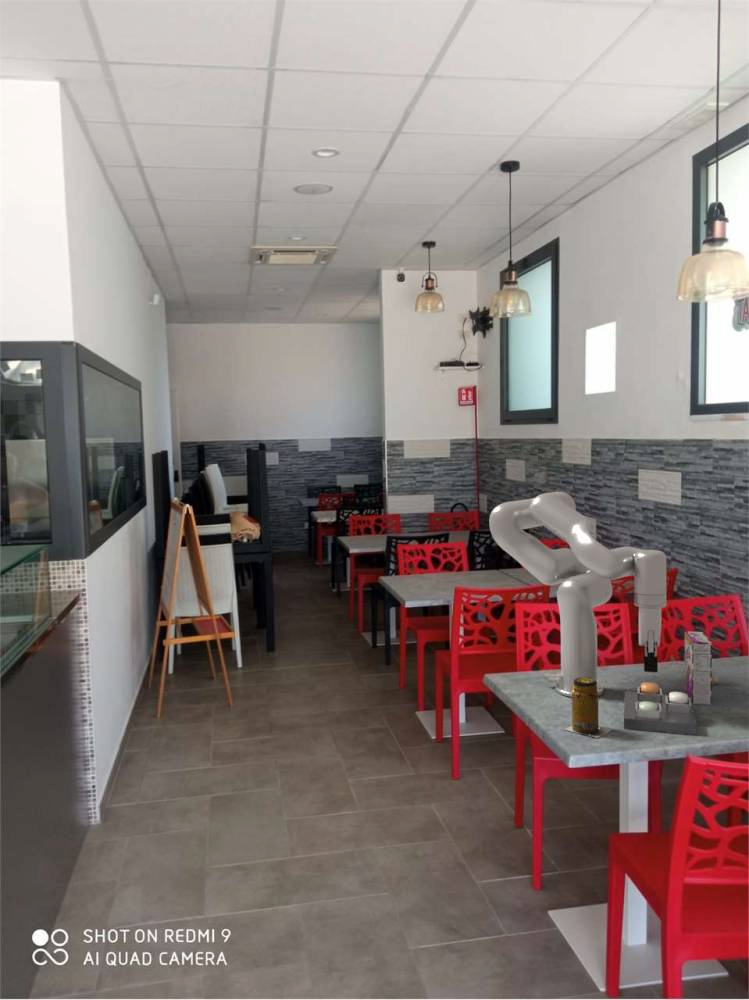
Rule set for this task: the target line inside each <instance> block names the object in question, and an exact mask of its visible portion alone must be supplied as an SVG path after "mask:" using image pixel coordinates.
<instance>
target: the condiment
mask: <svg viewBox="0 0 749 1000" xmlns="http://www.w3.org/2000/svg"><path fill="white" fill-rule="evenodd" d="M597 683H598V681H597V682H596V680H595V679H592V678H588V677H579V678H576V679H574V689H573V691H572V697H571V724H572V725H570V726H569V727H566V728H564V730H565V731H569V732H570V733H575V734H578V735H579V734H580V735H585V736H587V737H590V738H591V737H593V738H597V739H598V738H600V737H602V736H604V735H607V734H608V733H609V732H610V731H612V730H613V729H612V728H608V727H604V726H601V725H599V716H600V715H599V696H598V692H597V686H596V684H597ZM599 727H600V730H601V731H600V730H598V728H599ZM589 734H590V735H589Z"/></svg>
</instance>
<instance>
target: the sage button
mask: <svg viewBox="0 0 749 1000" xmlns="http://www.w3.org/2000/svg"><path fill="white" fill-rule="evenodd" d="M639 709H644V710H656V711H658V705H657V704H656V703H653V702H640V703H639Z"/></svg>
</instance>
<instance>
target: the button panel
mask: <svg viewBox="0 0 749 1000" xmlns="http://www.w3.org/2000/svg"><path fill="white" fill-rule="evenodd" d="M662 689H663V688H662V687H658V694H647V693H641V685H640V686H638V685H637V691H624V706H623V729H624V730H625V729H627V730H635V731H645V730H649V731H648V732H656V731H662V732H661V733H667V732H671V733H670V734H677V733H683V734H682V735H688V734H693V735H692V736H697V733H698V732H697V731H698V724H697V720H696V714H695V710H694V704H692V699H691V697H690V696H688V704H687V705H686V704H673V703H669V694H664V693H663V690H662ZM640 702H653V703H656V704H657V705H658V711H656V710H644V709H639V703H640Z"/></svg>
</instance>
